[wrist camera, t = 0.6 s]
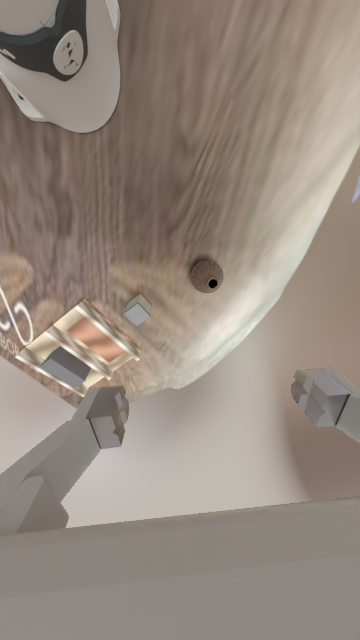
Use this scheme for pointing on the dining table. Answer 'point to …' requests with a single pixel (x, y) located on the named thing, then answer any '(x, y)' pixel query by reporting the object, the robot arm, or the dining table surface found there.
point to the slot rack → (83, 345)
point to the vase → (206, 276)
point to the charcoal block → (66, 367)
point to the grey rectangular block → (138, 310)
